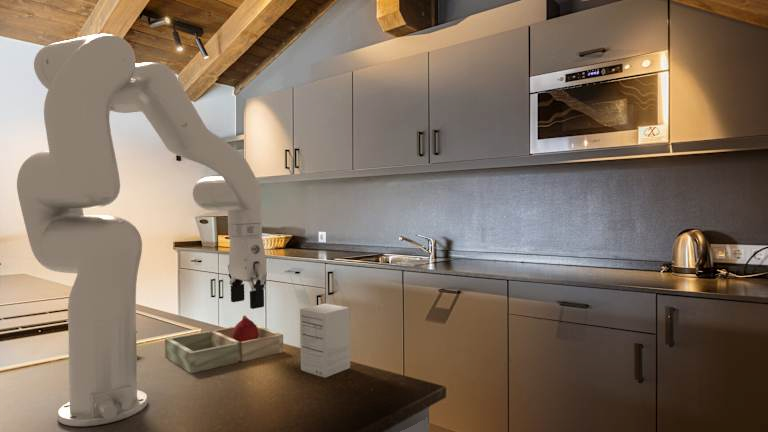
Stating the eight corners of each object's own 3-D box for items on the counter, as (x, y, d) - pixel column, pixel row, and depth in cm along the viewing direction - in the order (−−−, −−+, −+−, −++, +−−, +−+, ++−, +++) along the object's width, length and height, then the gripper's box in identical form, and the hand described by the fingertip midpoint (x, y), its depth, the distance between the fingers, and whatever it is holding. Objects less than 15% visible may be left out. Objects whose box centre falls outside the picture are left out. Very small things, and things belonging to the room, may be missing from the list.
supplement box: (325, 361, 103) (325, 302, 103) (351, 368, 99) (350, 307, 98) (299, 370, 98) (298, 308, 97) (324, 378, 93) (324, 313, 93)
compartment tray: (283, 352, 110) (283, 334, 110) (190, 373, 96) (190, 353, 96) (252, 339, 121) (252, 323, 121) (165, 356, 107) (164, 338, 107)
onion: (262, 346, 115) (262, 313, 115) (253, 353, 109) (253, 318, 109) (238, 346, 115) (238, 312, 115) (228, 353, 110) (228, 318, 109)
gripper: (278, 231, 108) (280, 307, 109) (243, 228, 121) (245, 296, 122) (247, 234, 103) (249, 313, 104) (214, 230, 116) (216, 301, 117)
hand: (247, 304), depth 113 cm, fingers open, 9 cm apart
